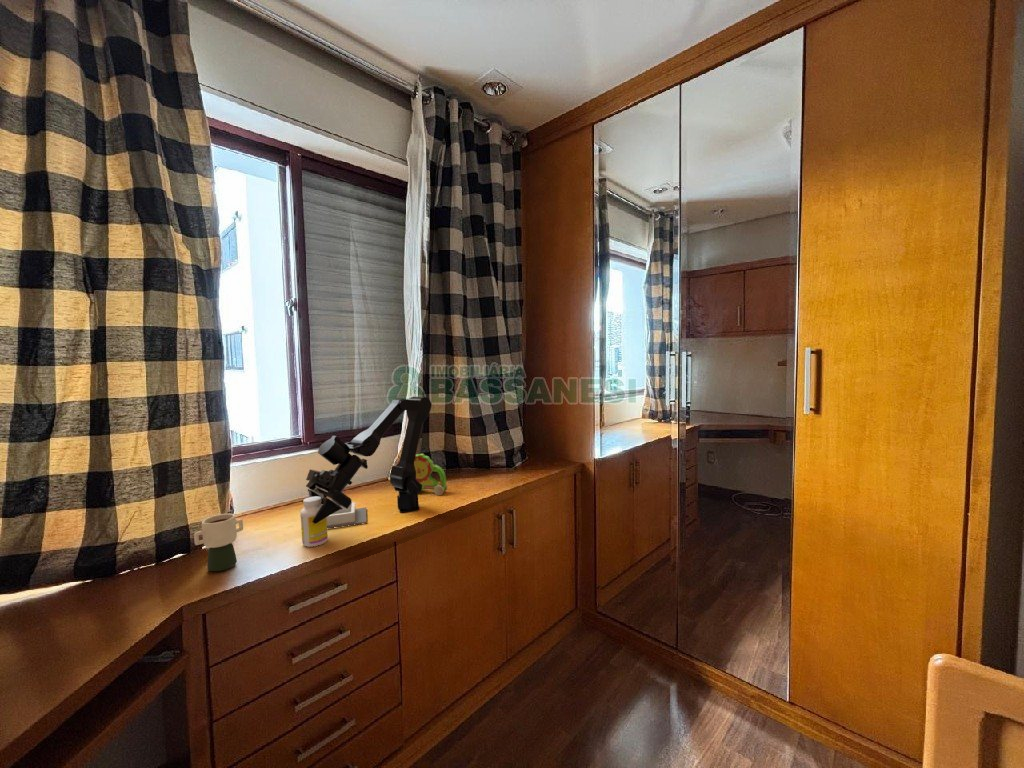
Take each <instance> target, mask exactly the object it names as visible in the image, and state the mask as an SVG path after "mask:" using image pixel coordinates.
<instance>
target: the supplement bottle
mask: <svg viewBox="0 0 1024 768" xmlns="http://www.w3.org/2000/svg"><path fill="white" fill-rule="evenodd" d="M302 503H303V508H302V509H301V511H300V512H299V513H300V526H301V529H300V530H301V540H302V541H301V542H302V545H303V546H304V547H306V546H307V547H308V548H309V547H310V548H312V547H313V546H314V547H318V545H319V546H321V545H323V544H325V543H326V542H327V541H328V540H329V538H328V537H329V535H328V529H327V521H326V518H324V519H323V520H321V521H319V522H318V523H316V524H315V523H313V522H312V521H313V519H314V518H315V516H316V514H317V513H318V511H319V509H320V508H321V506H322V505H321V497H319V496H315V497H306V498H304V499H303V502H302ZM314 547H313V548H314Z"/></svg>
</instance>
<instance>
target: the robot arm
mask: <svg viewBox="0 0 1024 768" xmlns="http://www.w3.org/2000/svg"><path fill="white" fill-rule="evenodd" d="M432 406H433V405H432V402H431V399H430V398H429V397H426V396H411V397H409V398H407V399H406V398H394V399H392V400H391V402H390V404H389V405H388V407H387V408H385V410H384V411H383V412H382V413H380V415H379V417H378V418H377V419H376V420H375V421H374V422H373V423H372V424H371V425H370V426H369V427H368V428H367V429H365V430H363V431H361V432H360V433H358V434H357V435H355V437H353V439H352V440H351V441H349V442H344V441H342V440H341V438H340V437H339V436H337V435H332V436H331V438H329V439H327V440H325V441H324V442H323V443H321V445H320V446H319V448H318V450H317V453H318V454H319V455H320V456H321V457H322V458H324V459H325V460H326V461H328V462H329V463H331V464H332V465H333V466H335V465H337V466H336V467H335V468H334V469H330V470H325V469H322V470H321V471H319V470H315V469H309V470H308V473H307V477H306V479H305V480H306V481H308V483H306V485H305V487H306V488H307V492H308V496H309V497H315V496H319V497H321V505H322V506H321V508H320V509H319V511H318V513H317V514H316V516H315V518H314V519H313V521H312V522H313V523H315V524H316V523H318V522H319V521H321V520H323V519H324V518H326V517H328V516H329V515H331V514H333V513H335V512H336V511H338V510H340V509H341V510H342V509H343V508H342V507H344V508H346V509H348V508H349V506H350V505H351V504H352V502H353V501H352V498H350V497H349V496H348V495H346V494H345V493H344V492H343V491H344V490H345V489H346V487H347V486H351V485H352V484H353V481H352V480H353V478H354V477H355V475H356V474H357V472H358V471H359V470H360V468H363V469H365V470H367V469H368V467H369V466H368V460H367V459H365V458H360V457H361V456H363V457H371V456H373V455H375V453H376V451H377V450H378V448H379V446H380V444H381V440H382V438H383V436H384V435H385V433H386V432H387V431H388V430H389V429H390V427H392V425H393V424H394V423H395V422H396V421H397V419H398V418H399V417H400V416H401V415H402V414H403V412H404V411H406V415H407V419H408V422H407V426H406V429H405V430H406V431H405V436H404V439H403V444H402V448H401V451H400V452H401V453H400V458H399V462H398V463H397V464H396V465H392V466H391V467H390V468H391V469H390V470H391V471H390V474H389V476H388V478H389V481H390V484H391V486H392V487H393V489H394V491H395V492H398V495H397V496H396V497H397V498H396V501H397V502H396V503H397V505H396V506H397V509H398V510H399V513H409V512H415V511H420V509H421V508H420V506H419V505H420V504H419V493H421V492H422V491H423V490H422V485H421V484H420V483H419V482H418V481H417V480H416V470H415V466H414V461H415V456H416V454H417V451H418V446H419V442H420V436H421V433H422V432H421V431H422V428H423V424H424V422H425V420H427V418H428V417H429V415H430V413H431V409H432ZM351 453H352V454H351ZM421 490H422V491H421ZM309 497H308V498H309ZM341 506H342V507H341Z"/></svg>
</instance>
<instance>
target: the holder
mask: <svg viewBox="0 0 1024 768" xmlns="http://www.w3.org/2000/svg"><path fill="white" fill-rule="evenodd" d="M341 507H342V506H341ZM342 508H343V509H342V510H341V509H340V510H338V511H336V512H335V513H333V514H331V515H329V516H328V517H326V521H327V528H333V529H335V528H334V527H340V528H343V527H342V526H347V527H349V526H348V525H353V526H355V525H354V524H360V525H363V524H362V523H366V521H367V507H358V508H357V507H356V502H355V501H352V504H351V505H350V506H349V508H348V509H346V508H344V507H342Z"/></svg>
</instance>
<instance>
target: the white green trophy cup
mask: <svg viewBox="0 0 1024 768" xmlns="http://www.w3.org/2000/svg"><path fill="white" fill-rule="evenodd" d="M237 525H238V528H237ZM241 531H244V521H243V519H242V518H239V519H236V515H235V514H234V513H221V514H214V515H212V516H209V517H206V518H205V519H203V520H202V521H201V530H199V531H196V532H194V534H193V539H194V545H195V546H198V545H202V544H203V546H205V547H206V548H207V549H208V554H207V564H206V565H207V571H211V572H220V571H221V572H222V571H225V570H228V569H231V568H233V567H234V566H235V565H236V564H237V562H238V560H237V555H236V551H235V548H234V544H233V542H235V541H236V539H237V537H238V536H237V535H238V533H240V532H241ZM200 535H202V539H200V537H199V536H200Z"/></svg>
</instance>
